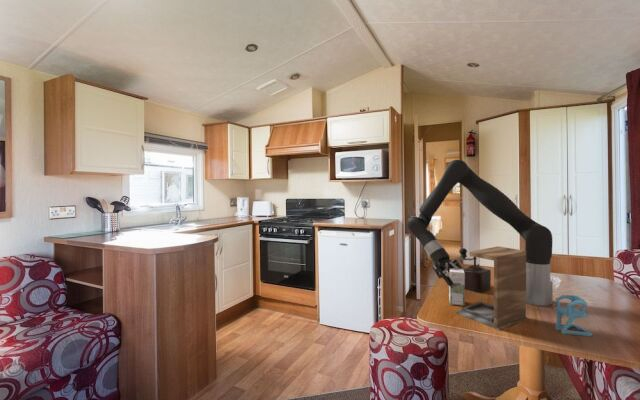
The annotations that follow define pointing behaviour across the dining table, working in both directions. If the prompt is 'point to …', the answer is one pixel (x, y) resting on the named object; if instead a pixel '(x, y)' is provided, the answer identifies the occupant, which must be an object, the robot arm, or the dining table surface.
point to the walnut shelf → (502, 289)
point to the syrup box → (457, 287)
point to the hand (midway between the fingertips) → (458, 283)
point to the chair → (571, 315)
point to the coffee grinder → (476, 275)
